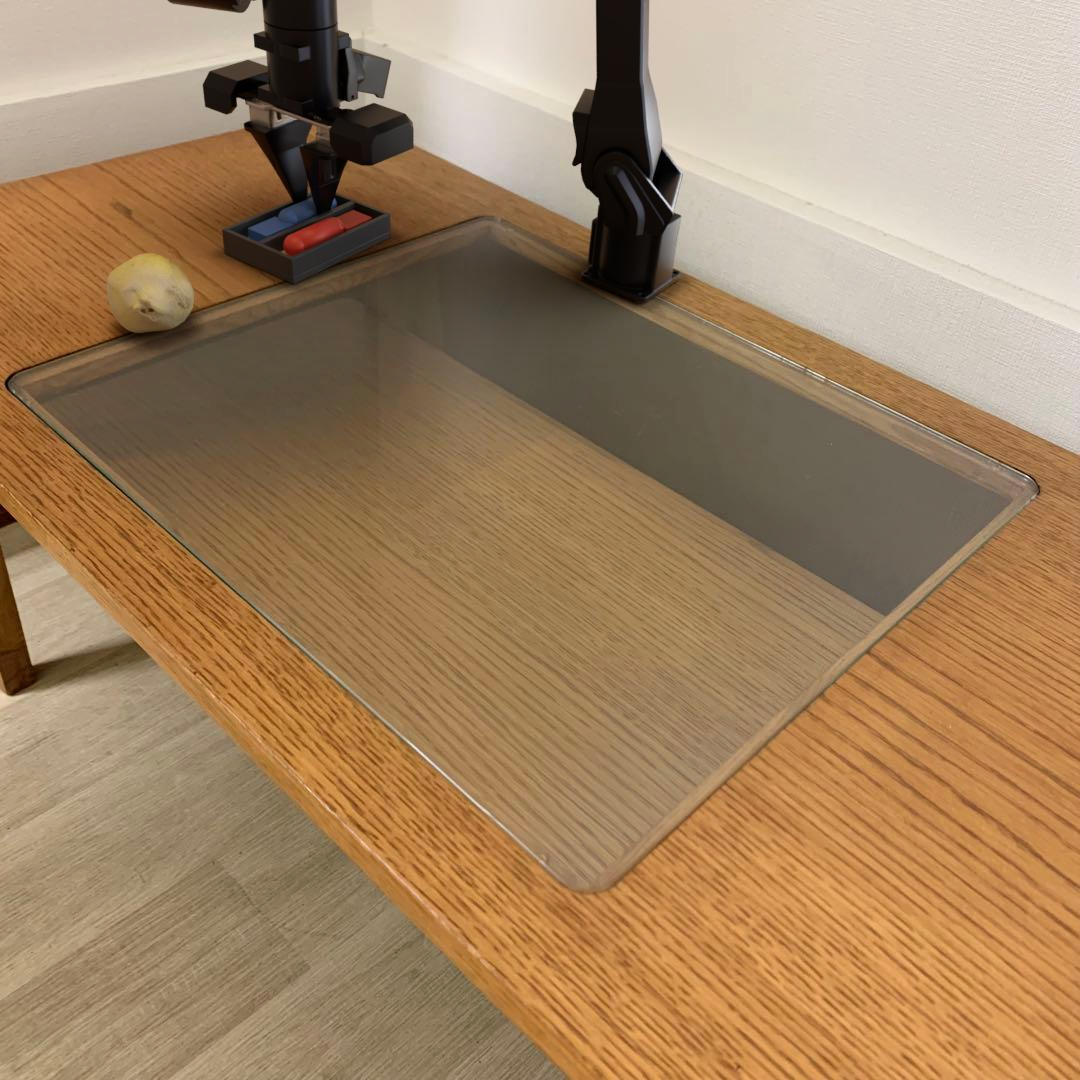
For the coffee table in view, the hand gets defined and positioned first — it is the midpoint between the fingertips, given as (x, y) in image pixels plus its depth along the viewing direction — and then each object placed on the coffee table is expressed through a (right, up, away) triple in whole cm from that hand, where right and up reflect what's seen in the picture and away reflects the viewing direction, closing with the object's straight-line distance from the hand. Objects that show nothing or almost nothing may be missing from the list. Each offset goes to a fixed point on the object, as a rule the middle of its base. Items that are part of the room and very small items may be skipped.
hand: (312, 209), depth 99 cm
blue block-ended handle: (-1, -2, -1) cm, 2 cm away
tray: (0, -3, -1) cm, 4 cm away
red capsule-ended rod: (+2, -4, -2) cm, 5 cm away
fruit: (-10, -12, -12) cm, 20 cm away
